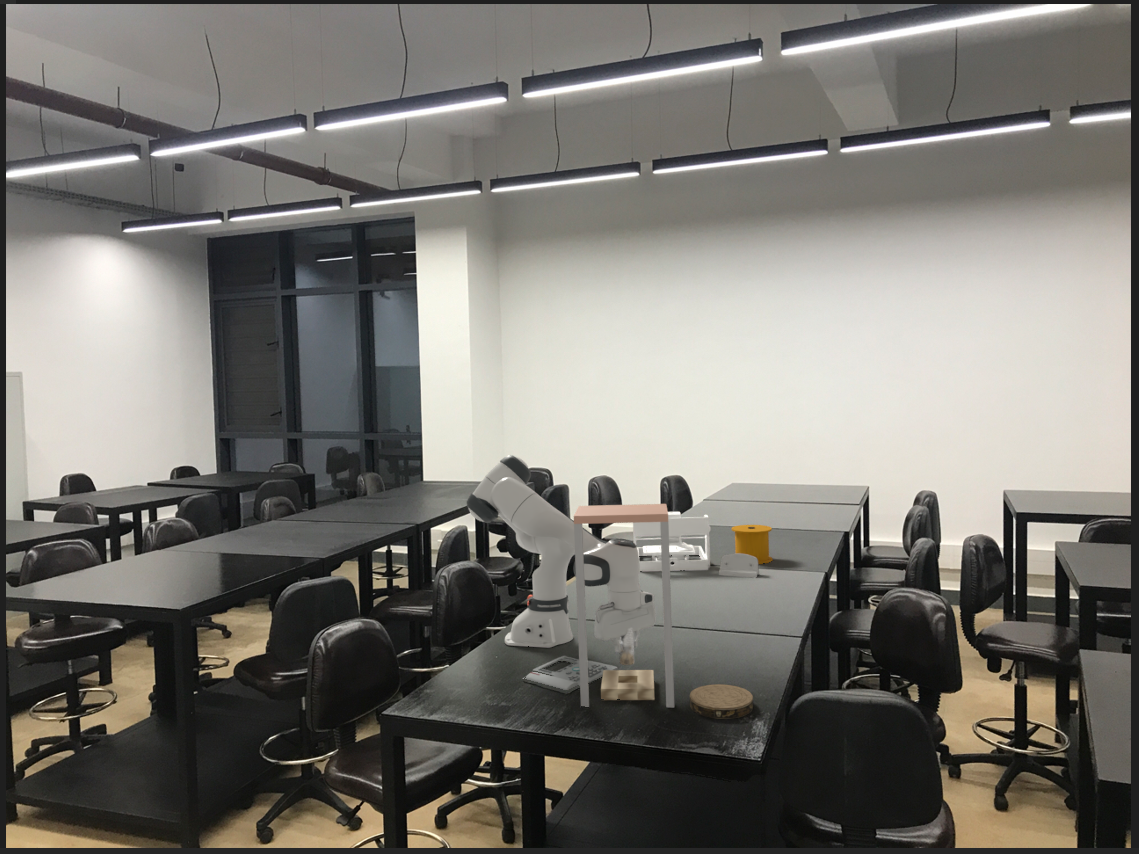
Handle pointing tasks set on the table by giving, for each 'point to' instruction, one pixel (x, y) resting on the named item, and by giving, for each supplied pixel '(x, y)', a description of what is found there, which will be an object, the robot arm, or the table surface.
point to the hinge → (739, 565)
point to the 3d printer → (675, 543)
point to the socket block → (627, 685)
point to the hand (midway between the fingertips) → (626, 649)
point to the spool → (753, 541)
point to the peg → (627, 648)
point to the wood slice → (721, 701)
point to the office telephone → (567, 673)
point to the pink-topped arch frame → (584, 517)
